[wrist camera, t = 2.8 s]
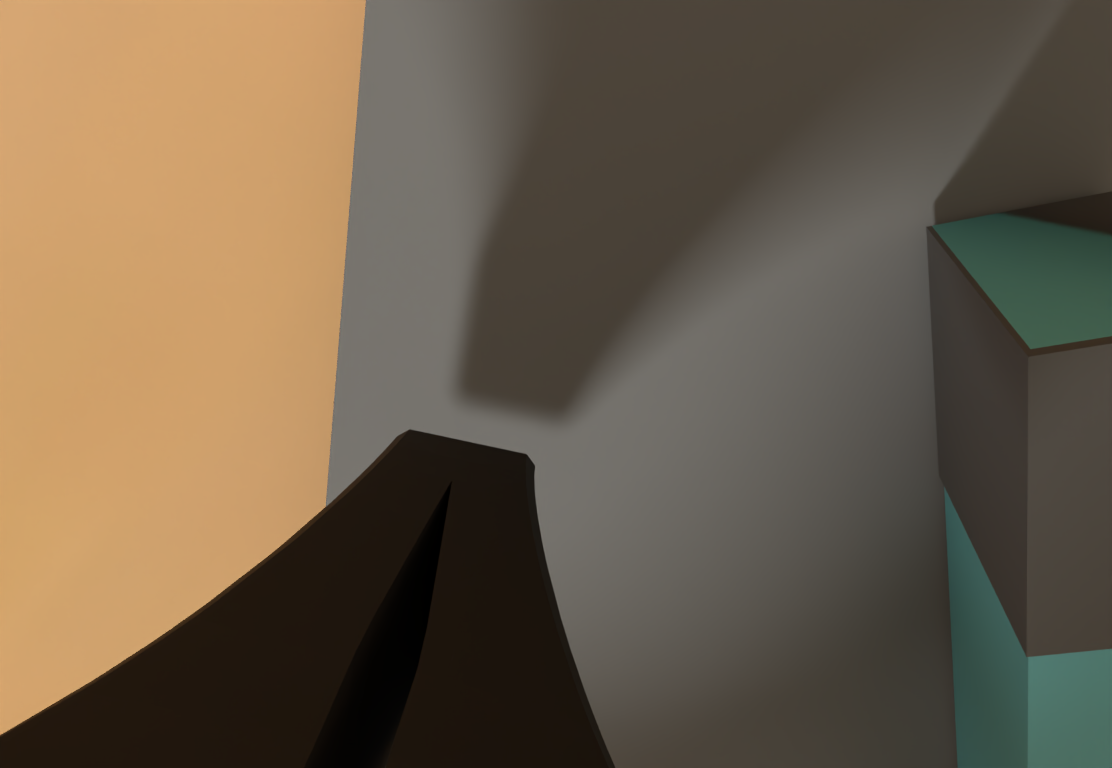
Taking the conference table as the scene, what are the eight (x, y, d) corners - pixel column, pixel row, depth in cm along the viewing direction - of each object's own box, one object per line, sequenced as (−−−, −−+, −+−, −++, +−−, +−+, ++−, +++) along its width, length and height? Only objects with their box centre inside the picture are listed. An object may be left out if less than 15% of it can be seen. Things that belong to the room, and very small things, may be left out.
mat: (1153, 1142, 18) (1166, 1173, 18) (295, 969, 18) (287, 996, 18) (2562, 29, 7) (2684, 37, 7) (419, -471, 7) (405, -493, 7)
